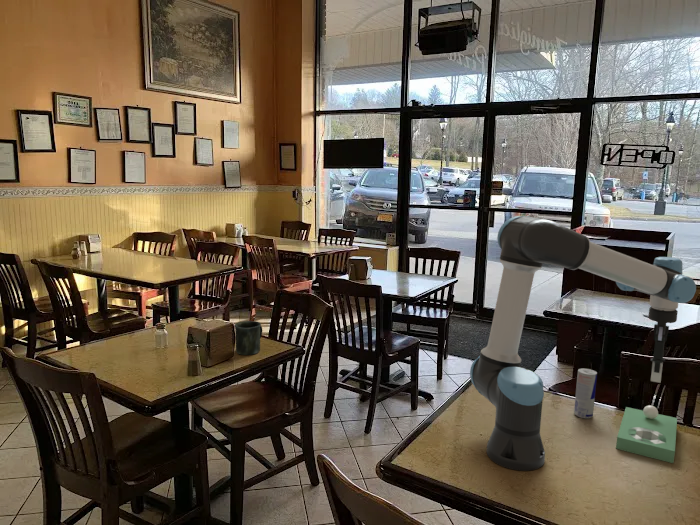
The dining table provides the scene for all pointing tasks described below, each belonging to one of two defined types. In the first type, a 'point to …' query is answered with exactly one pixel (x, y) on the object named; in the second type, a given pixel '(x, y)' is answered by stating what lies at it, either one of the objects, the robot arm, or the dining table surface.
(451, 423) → the dining table surface
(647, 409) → the ball
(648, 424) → the green
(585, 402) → the beverage can
